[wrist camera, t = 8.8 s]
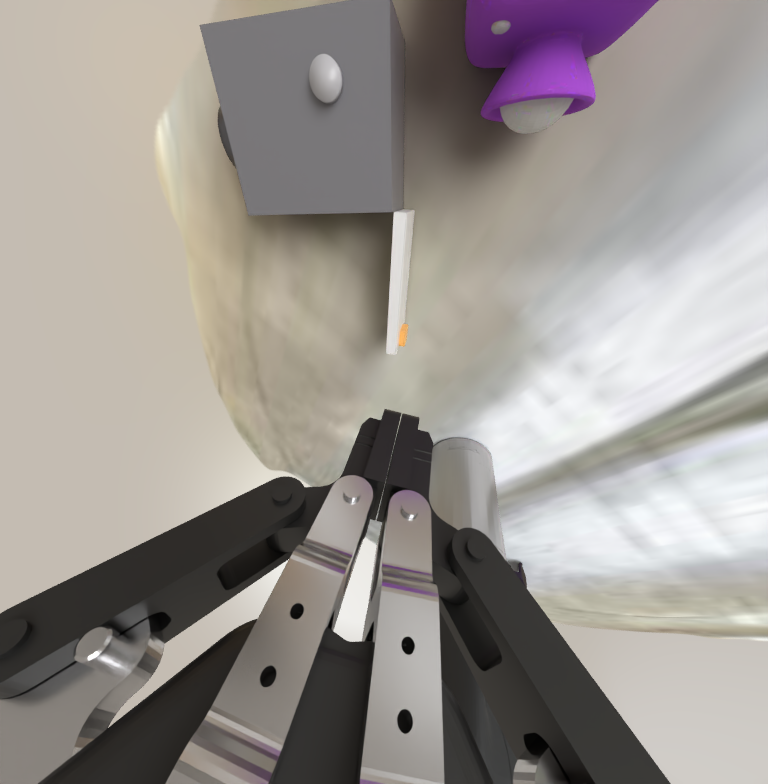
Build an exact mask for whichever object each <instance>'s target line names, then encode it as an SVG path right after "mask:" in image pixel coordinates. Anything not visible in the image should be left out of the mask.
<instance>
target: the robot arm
mask: <svg viewBox="0 0 768 784" xmlns="http://www.w3.org/2000/svg"><path fill="white" fill-rule="evenodd" d="M400 416H401V413H399V412H395V411H391V410H387V409H385V410H384V413H383V416H382V419H381V420H377V419H373V418H369V419H368V420H367V421H365V422H364V423H363V424H362V426H361V428H360V431H359V433H358V436H357V438H356V441H355V444H354V446H353V448H352V451H351V454H350V456H349V459H348V461H347V464H346V466H345V469H344V471H343V473H342V475H341V477H340V478H339V479H338V480H337V481H335V482H334V483H332V484H330V485H327V486H323V487H307V488H306V487H304V486H303V484H302V483H301V482H300V481H299V480H297V479H295V478H292V477H279V478H276V479H273V480H271V481H269V482H267V483H265V484H263V485H261V486H259V487H257V488H255V489H253V490H251V491H249V492H247V493H245V494H243V495H240V496H238V497H236V498H234V499H232V500H231V501H228V502H226V503H224V504H222V505H220V506H218V507H216V508H214V509H212V510H210V511H208V512H206V513H204V514H202V515H199V516H198V517H196V518H194V519H191V520H189V521H187V522H185V523H183V524H181V525H179V526H177V527H175V528H173V529H171V530H169V531H167V532H165V533H163V534H161V535H158V536H156V537H154V538H152V539H150V540H148V541H146V542H144V543H142V544H140V545H138V546H136V547H134V548H132V549H130V550H128V551H126V552H124V553H122V554H120V555H117V556H115V557H113V558H111V559H109V560H107V561H105V562H103V563H101V564H99V565H97V566H95V567H93V568H91V569H89V570H87V571H85V572H83V573H81V574H79V575H77V576H74V577H73V578H70V579H68V580H67V581H64V582H62V583H60V584H58V585H56V586H54V587H52V588H50V589H48V590H46V591H44V592H42V593H40V594H38V595H36V596H34V597H31V598H30V599H28V600H26V601H23V602H21V603H19V604H17V605H15V606H13V607H11V608H9V609H7V610H6V611H4V612H2V613H1V614H0V784H670V782H669V781H668V780H667V778H666V777H665V776H664V774H663V773H662V771H661V770H660V769H659V767H658V766H657V765H656V763H655V762H654V761H653V759H652V758H651V757H650V755H649V754H648V752H647V751H646V750H645V749H644V747H643V746H642V745H641V743H640V742H639V740H638V739H637V738H636V736H635V735H634V734H633V732H632V731H631V729H630V728H629V727H628V725H627V724H626V723H625V721H624V720H623V719H622V717H621V716H620V714H619V713H618V712H617V710H616V709H615V708H614V706H613V705H612V704H611V702H610V701H609V700H608V698H607V697H606V696H605V694H604V693H603V692H602V690H601V689H600V687H599V686H598V685H597V683H596V682H595V681H594V679H593V678H592V677H591V675H590V674H589V673H588V671H587V670H586V668H585V667H584V666H583V665H582V663H581V662H580V660H579V659H578V658H577V656H576V655H575V653H574V652H573V651H572V650H571V648H570V647H569V645H568V644H567V643H566V641H565V640H564V639H563V637H562V636H561V635H560V633H559V632H558V630H557V629H556V628H555V626H554V625H553V624H552V622H551V621H550V620H549V618H548V617H547V616H546V614H545V613H544V611H543V610H542V609H541V607H540V606H539V605H538V603H537V602H536V601H535V599H534V598H533V597H532V595H531V594H530V593H529V591H528V590H527V588H526V587H525V586H524V584H523V583H522V582H521V580H520V579H519V578H518V576H517V575H516V574H515V572H514V571H513V569H512V568H511V567H510V565H509V564H508V563H507V561H506V554H505V547H504V540H503V533H502V526H501V519H500V512H499V505H498V498H497V491H496V484H495V477H494V470H493V463H492V457H491V454H490V452H489V451H488V450H487V449H486V448H485V447H484V446H483V445H481V444H480V443H478V442H476V441H473V440H470V439H465V438H452V439H447V440H444V441H441V442H439V443H438V444H436V445H435V446H434V447H433V442H432V439H431V437H430V434H429V433H428V432H425V431H421V430H418V424H419V417H415V416H411V415H407V414H402V418H401V422H400V425H399V421H400ZM398 425H399V429H398ZM397 429H398V433H397ZM396 434H397V437H396ZM395 438H396V441H395ZM394 442H395V445H394ZM393 446H394V449H393ZM392 451H393V453H392ZM391 455H392V457H391ZM390 459H391V462H390ZM389 464H390V466H389ZM388 468H389V470H388ZM387 472H388V475H387ZM386 476H387V479H386ZM385 481H386V483H385ZM384 485H385V488H384ZM383 488H384V492H383ZM382 492H383V496H382ZM381 496H382V501H381V505H380V509H379V514H378V518H377V521H380V522H382V526H381V531H380V535H379V539H378V542H377V548H376V555H375V562H374V569H373V576H372V584H371V591H370V598H369V604H368V610H367V614H366V620H365V625H364V632H363V638H362V642H349V641H346V640H344V639H343V638H342V637H340V636H339V635H337V634H336V633H334V632H333V629H334V627H335V623H336V620H337V617H338V614H339V611H340V608H341V604H342V601H343V598H344V594H345V591H346V588H347V585H348V582H349V580H350V577H351V574H352V571H353V568H354V564H355V562H356V559H357V556H358V553H359V550H360V547H361V544H362V541H363V539H364V538H365V536H366V533H367V529H368V525H369V521H370V519H372V520H375V519H376V515H377V511H378V507H379V504H380V500H381ZM289 558H290V559H289ZM288 559H289V560H288ZM286 560H288V563H287V564H286V566H285V568H284V570H283V572H282V574H281V576H280V578H279V579H278V581H277V583H276V585H275V587H274V589H273V591H272V593H271V595H270V597H269V598H268V601H267V602H266V604H265V606H264V608H263V610H262V612H261V614H260V615H259V618H258V619H255V620H252V621H250V622H247V623H245V624H243V625H241V626H239V627H237V628H236V629H234V630H233V631H231V632H229V633H228V634H227V635H225V636H224V637H223V638H221V639H220V640H219V641H218V642H216V643H215V644H214V645H213V646H211V647H210V648H209V649H207V650H206V651H205V652H204V653H202V654H201V655H200V656H199V657H198V658H196V659H195V660H194V661H192V662H191V663H190V664H189V665H187V666H186V667H185V668H183V669H182V670H181V671H180V672H178V673H177V674H176V675H175V676H173V677H172V678H171V679H170V680H168V681H167V682H166V683H165V684H163V685H162V686H161V687H159V688H158V689H157V690H156V691H154V692H153V693H152V694H151V695H149V696H148V697H147V698H146V699H144V700H143V701H142V702H140V703H139V704H138V705H137V706H135V707H134V708H133V709H132V710H130V711H129V712H128V713H127V714H125V715H124V716H123V717H122V718H120V719H119V720H118V721H116V722H115V723H114V724H113V725H112V726H110V727H109V728H108V726H109V725H110V723H111V721H112V719H113V718H114V716H115V715H116V713H117V712H118V711H119V710H120V708H121V707H122V706H123V705H124V703H126V701H127V700H128V699H129V698H131V697H132V696H133V695H134V694H135V693H136V692H137V691H138V690H140V689H141V688H142V687H143V686H144V685H145V684H146V682H147V681H148V680H149V679H150V678H151V676H152V675H153V673H154V672H155V670H156V669H157V667H158V665H159V663H160V660H161V658H162V655H163V650H164V644H165V643H166V642H168V641H169V640H170V639H172V638H173V637H175V636H176V635H178V634H179V633H181V632H182V631H184V630H185V629H187V628H188V627H190V626H191V625H192V624H194V623H195V622H197V621H198V620H200V619H201V618H203V617H204V616H205V615H207V614H209V613H210V612H212V611H213V610H215V609H216V608H217V607H219V606H220V605H222V604H223V603H225V602H226V601H227V600H229V599H231V598H232V597H234V596H235V595H237V594H238V593H240V592H241V591H242V590H244V589H245V588H247V587H248V586H250V585H251V584H253V583H254V582H256V581H257V580H259V579H260V578H262V577H263V576H264V575H266V574H267V573H269V572H270V571H272V570H273V569H274V568H276V567H278V566H279V565H281V564H282V563H283V562H285V561H286Z"/></svg>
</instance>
